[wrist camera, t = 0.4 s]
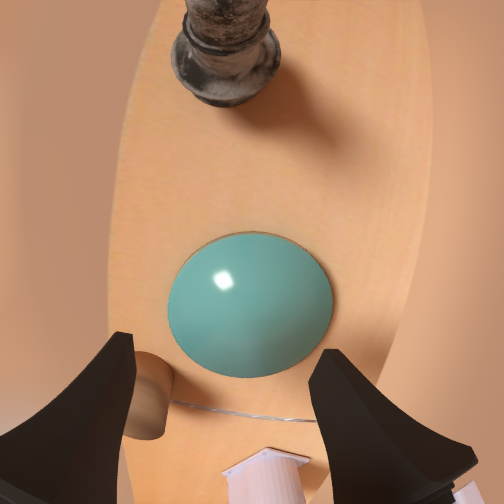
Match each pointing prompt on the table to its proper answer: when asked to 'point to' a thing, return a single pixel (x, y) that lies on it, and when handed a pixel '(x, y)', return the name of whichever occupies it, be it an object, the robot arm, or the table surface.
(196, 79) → the salt shaker
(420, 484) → the robot arm
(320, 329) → the teal rounded disc
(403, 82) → the table surface
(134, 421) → the walnut cylinder
